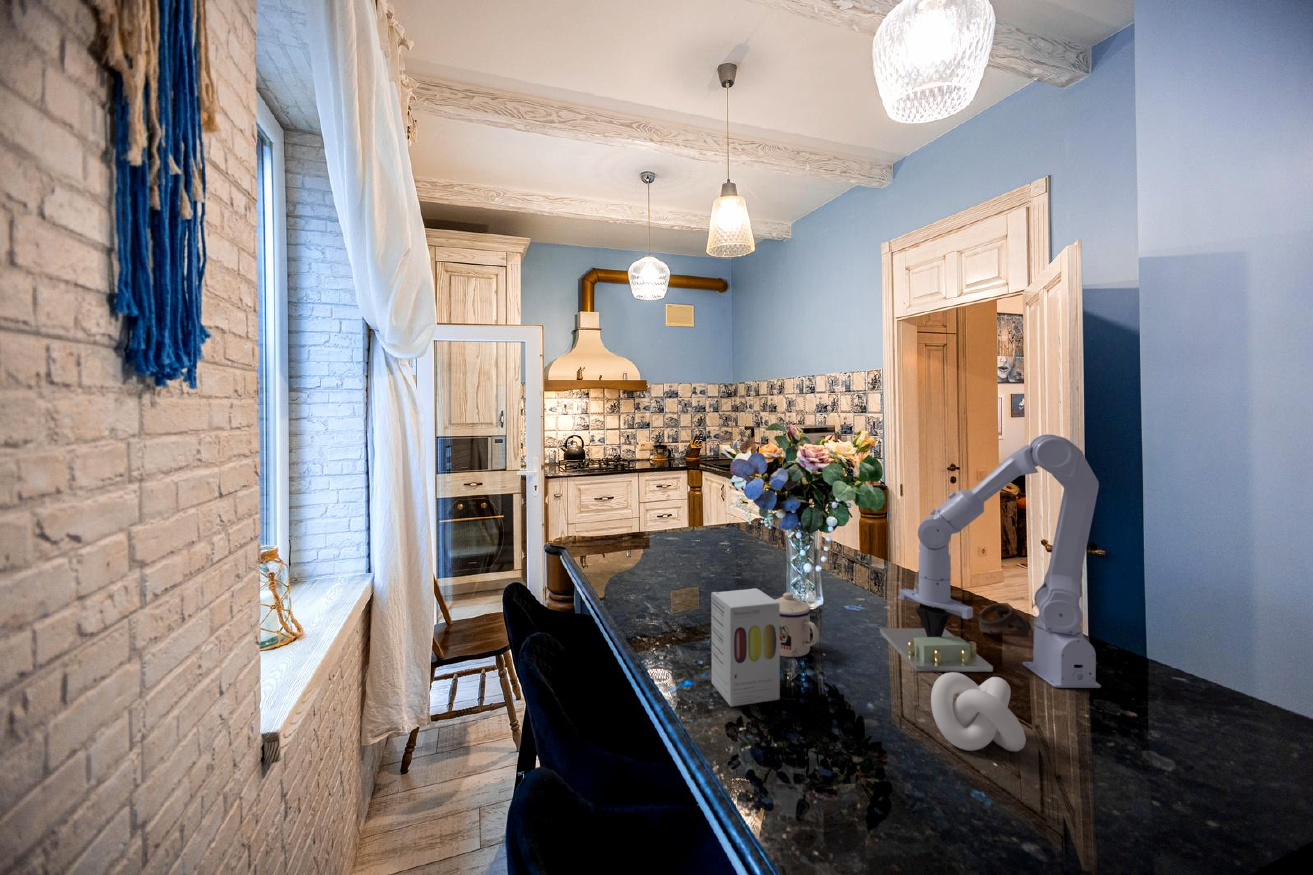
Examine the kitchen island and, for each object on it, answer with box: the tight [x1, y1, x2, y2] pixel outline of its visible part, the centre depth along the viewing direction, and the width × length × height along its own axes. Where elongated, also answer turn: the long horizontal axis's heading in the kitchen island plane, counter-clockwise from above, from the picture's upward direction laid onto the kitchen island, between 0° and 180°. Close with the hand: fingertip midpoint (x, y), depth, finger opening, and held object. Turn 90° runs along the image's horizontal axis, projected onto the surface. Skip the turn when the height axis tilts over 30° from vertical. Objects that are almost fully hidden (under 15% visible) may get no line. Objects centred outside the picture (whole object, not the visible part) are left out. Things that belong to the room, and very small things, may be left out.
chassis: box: [879, 627, 994, 673], centre depth 113 cm, size 19×14×4 cm
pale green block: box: [914, 636, 970, 661], centre depth 108 cm, size 4×9×3 cm, turn 91°
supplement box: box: [710, 587, 781, 708], centre depth 98 cm, size 10×9×17 cm
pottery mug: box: [978, 602, 1034, 645], centre depth 121 cm, size 12×10×8 cm
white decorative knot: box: [930, 672, 1027, 752], centre depth 82 cm, size 11×12×9 cm
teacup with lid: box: [774, 592, 820, 658], centre depth 114 cm, size 12×9×12 cm
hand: (934, 643), depth 112 cm, fingers closed
